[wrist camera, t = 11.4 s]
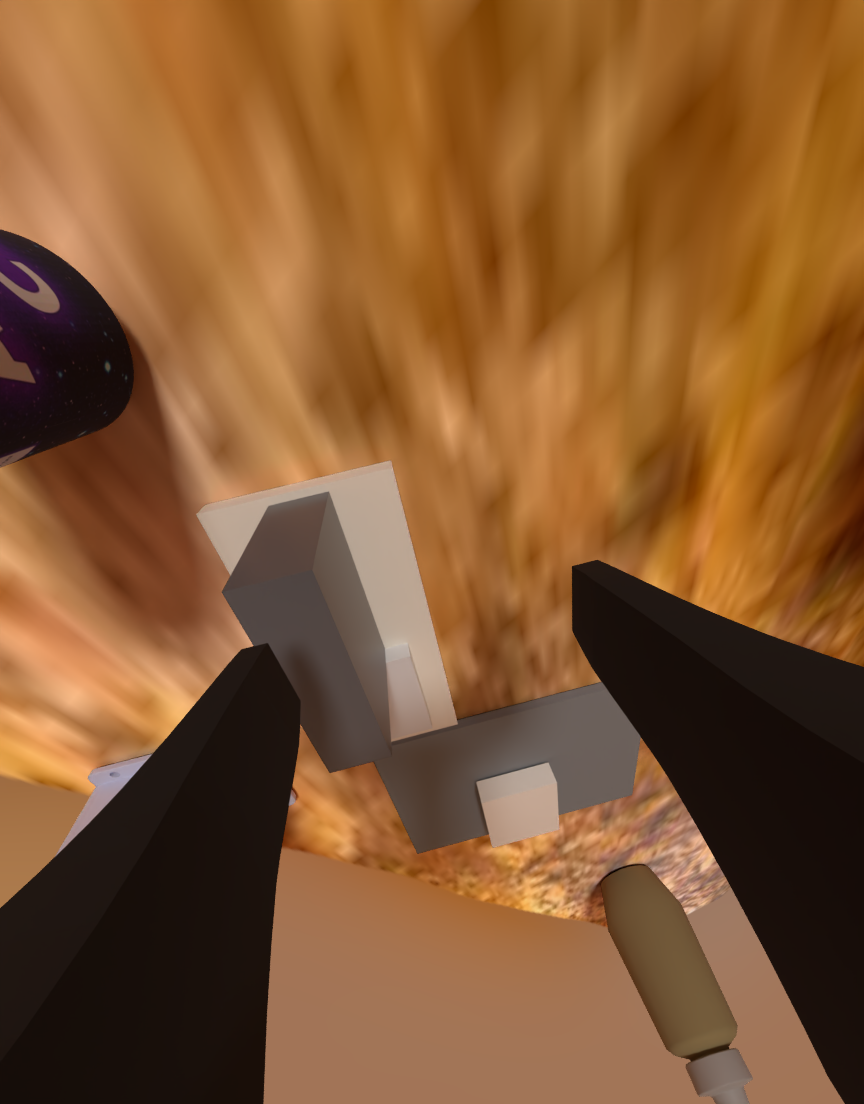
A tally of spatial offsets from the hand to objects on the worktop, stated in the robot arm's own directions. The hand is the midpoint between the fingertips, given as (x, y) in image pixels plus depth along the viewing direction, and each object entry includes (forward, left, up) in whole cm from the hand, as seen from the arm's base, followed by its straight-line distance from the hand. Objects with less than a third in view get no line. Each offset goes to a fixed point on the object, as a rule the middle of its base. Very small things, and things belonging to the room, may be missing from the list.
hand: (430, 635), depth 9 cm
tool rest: (-4, -7, -9) cm, 12 cm away
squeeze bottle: (+14, -51, -10) cm, 54 cm away
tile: (+3, -23, -8) cm, 24 cm away
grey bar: (-4, -6, -8) cm, 11 cm away
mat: (+3, -24, -9) cm, 26 cm away
